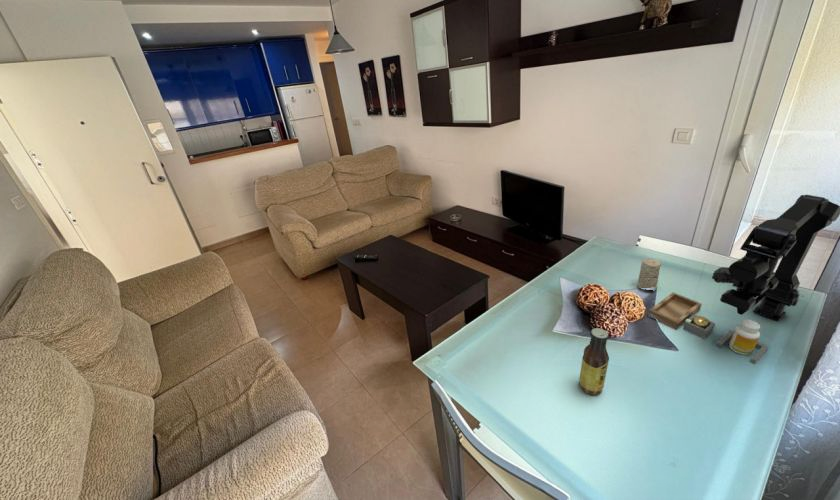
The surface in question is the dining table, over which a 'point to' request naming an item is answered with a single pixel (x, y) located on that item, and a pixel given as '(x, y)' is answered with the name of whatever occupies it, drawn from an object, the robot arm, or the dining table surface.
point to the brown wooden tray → (675, 310)
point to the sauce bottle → (594, 363)
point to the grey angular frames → (710, 326)
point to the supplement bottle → (745, 337)
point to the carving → (649, 273)
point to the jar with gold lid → (700, 321)
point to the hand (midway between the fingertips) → (740, 313)
